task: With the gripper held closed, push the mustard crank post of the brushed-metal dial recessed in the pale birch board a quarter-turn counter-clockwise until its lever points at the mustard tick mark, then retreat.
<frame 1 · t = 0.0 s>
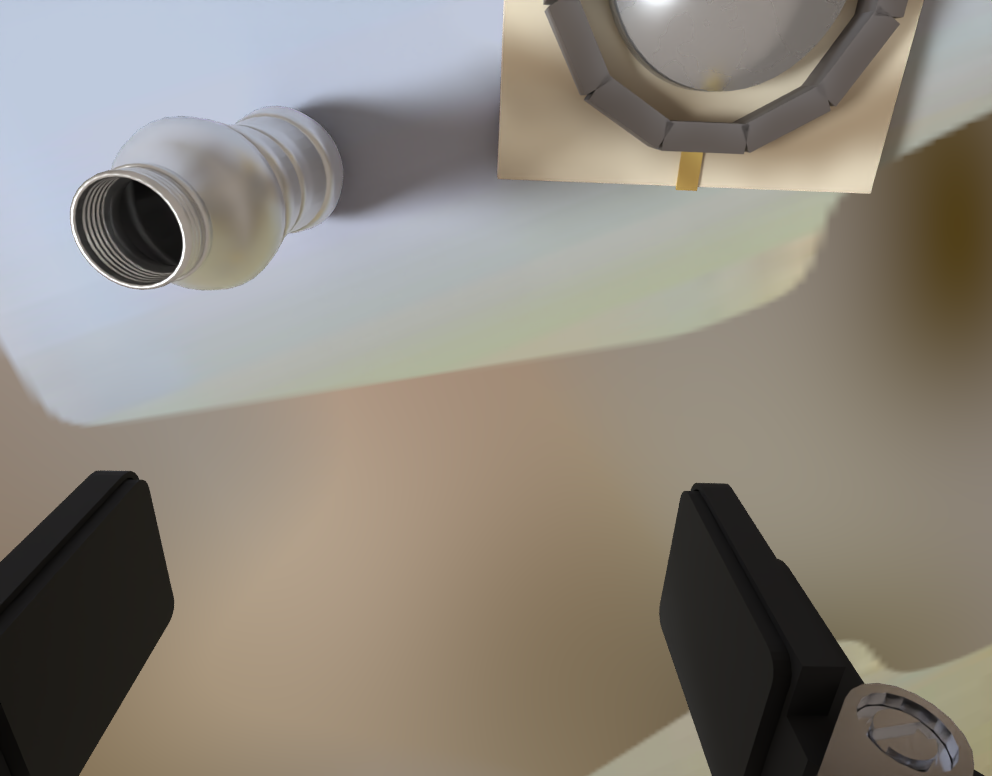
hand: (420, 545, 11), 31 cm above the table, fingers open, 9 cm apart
plastic bottle: (297, 166, 38), on the table
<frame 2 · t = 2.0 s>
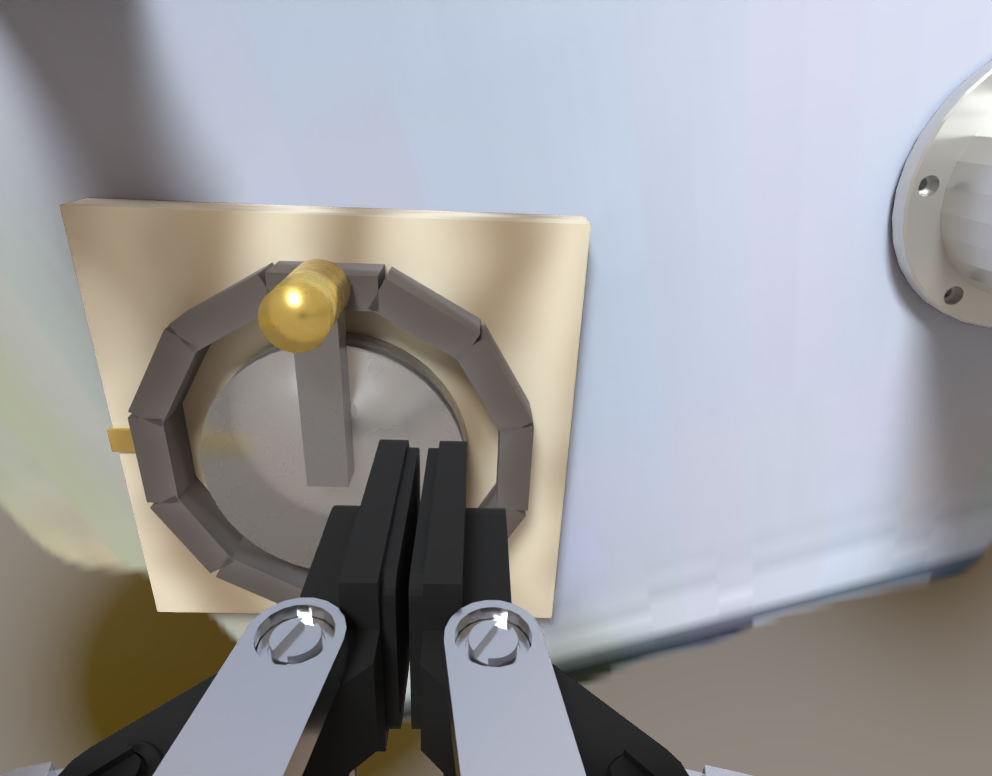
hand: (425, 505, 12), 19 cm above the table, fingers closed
dial: (326, 445, 27), point 5 cm above the table, hinge at 0.0°
dial plate: (352, 425, 33), on the table
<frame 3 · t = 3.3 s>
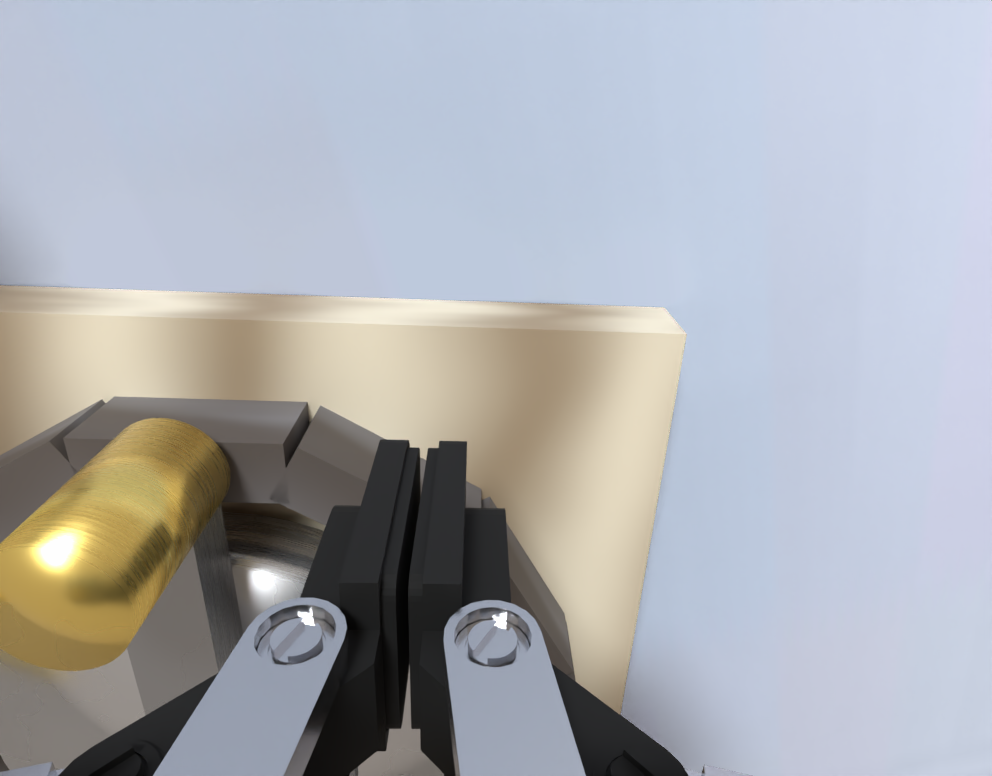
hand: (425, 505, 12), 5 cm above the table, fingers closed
dial: (201, 732, 15), point 5 cm above the table, hinge at 0.0°
dial plate: (276, 622, 21), on the table
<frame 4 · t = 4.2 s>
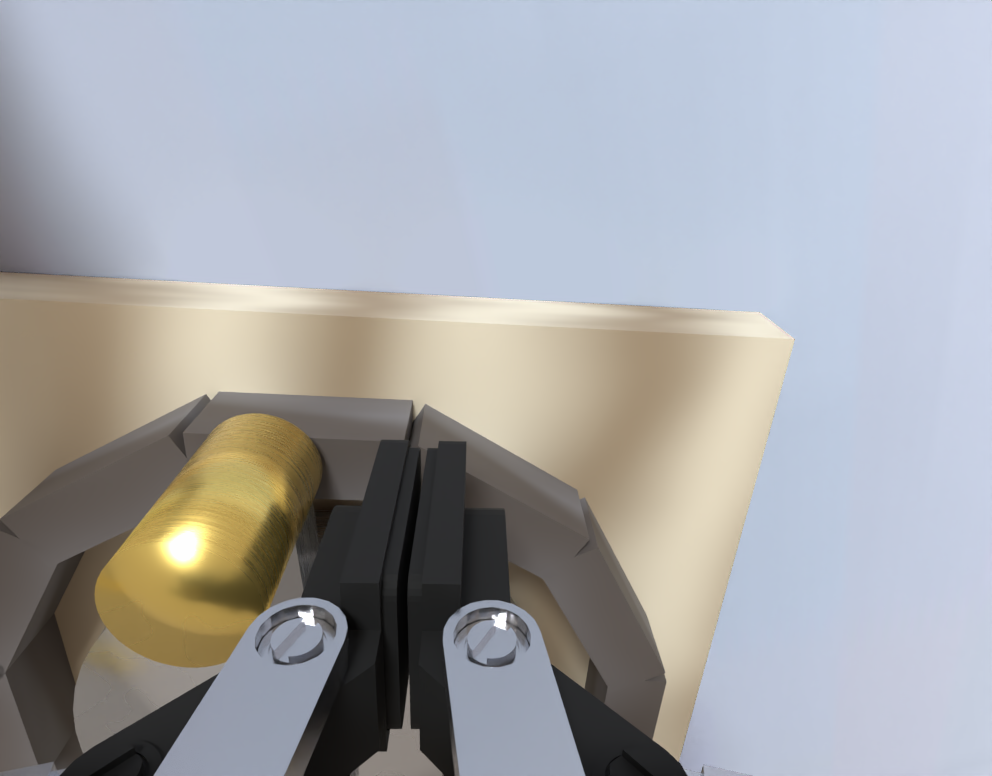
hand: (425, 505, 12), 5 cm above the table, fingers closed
dial: (295, 731, 15), point 5 cm above the table, hinge at 4.0°, touching gripper
dial plate: (346, 621, 20), on the table
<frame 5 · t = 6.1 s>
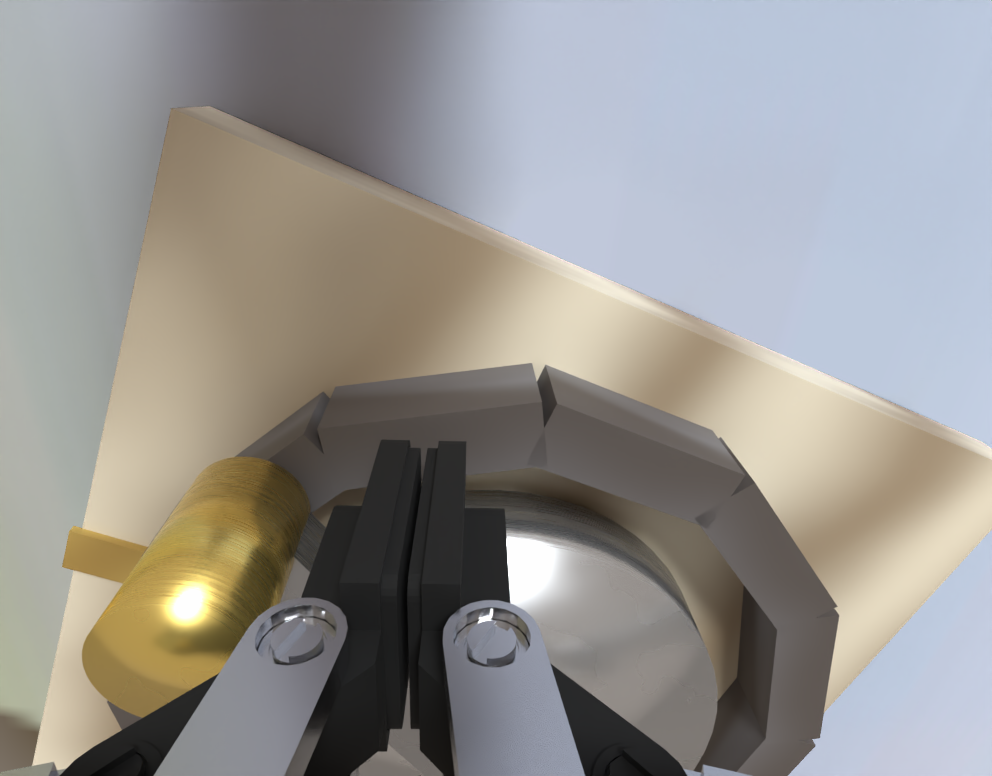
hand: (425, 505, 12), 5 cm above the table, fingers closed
dial: (439, 727, 15), point 5 cm above the table, hinge at 57.3°, touching gripper
dial plate: (479, 607, 20), on the table
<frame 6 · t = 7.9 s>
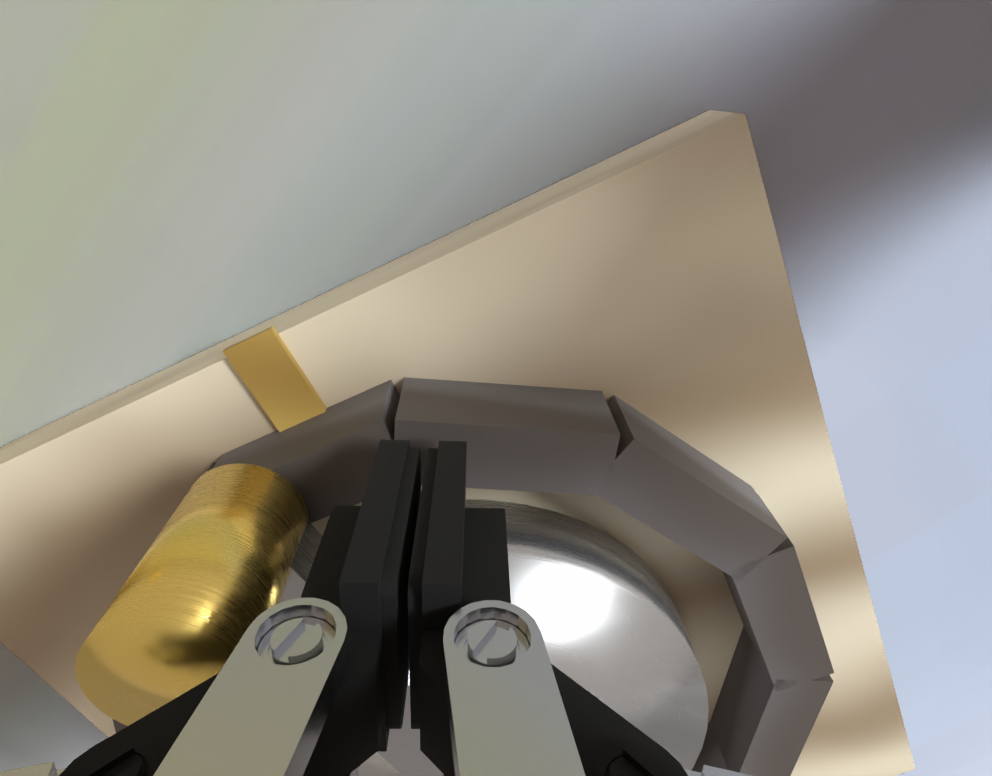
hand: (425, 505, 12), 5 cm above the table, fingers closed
dial: (430, 737, 15), point 5 cm above the table, hinge at 97.1°, touching gripper
dial plate: (473, 613, 20), on the table
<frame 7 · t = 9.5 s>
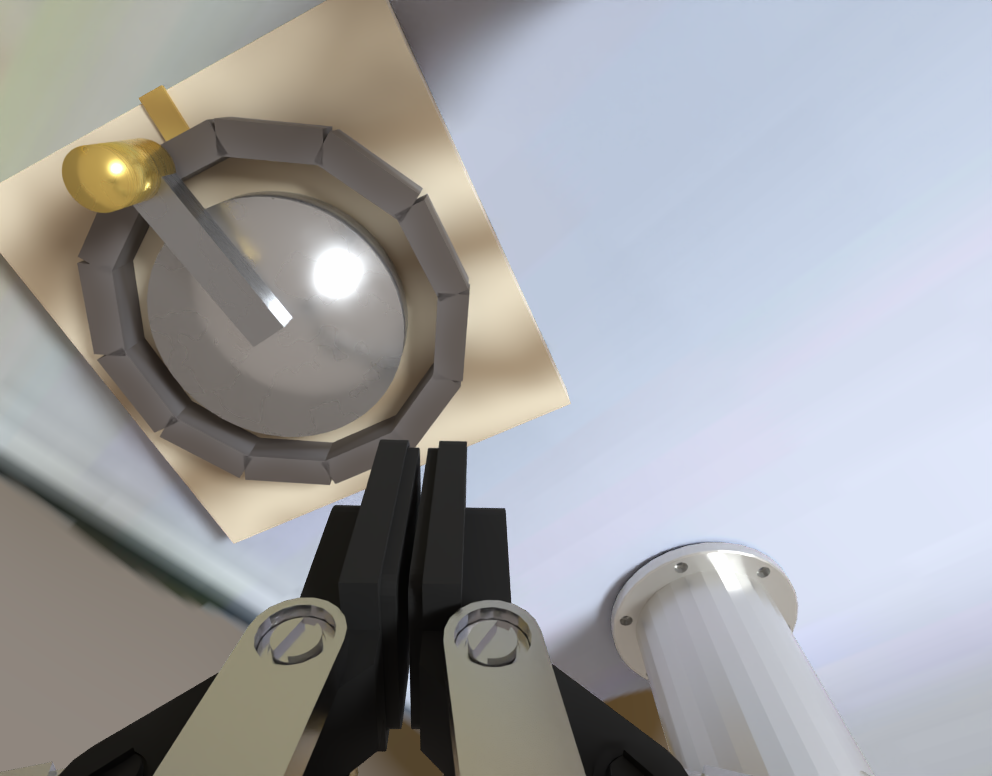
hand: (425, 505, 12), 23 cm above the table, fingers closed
dial: (244, 301, 29), point 5 cm above the table, hinge at 97.2°
dial plate: (300, 300, 34), on the table
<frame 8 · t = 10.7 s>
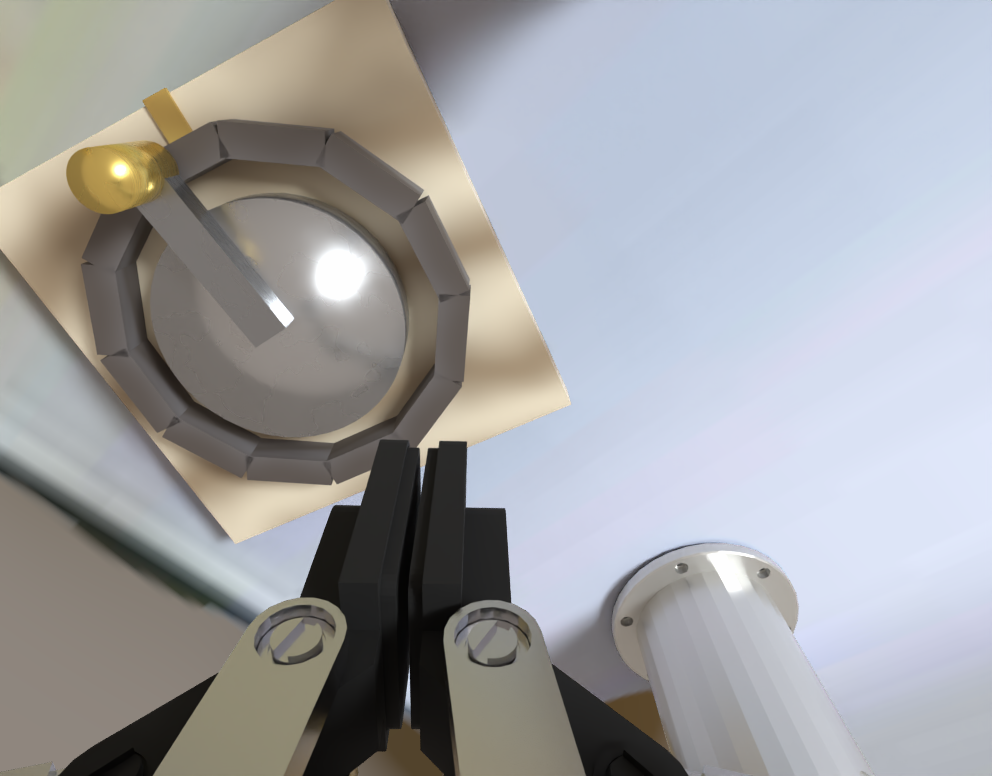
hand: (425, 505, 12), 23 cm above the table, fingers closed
dial: (246, 302, 29), point 5 cm above the table, hinge at 97.2°
dial plate: (302, 301, 34), on the table
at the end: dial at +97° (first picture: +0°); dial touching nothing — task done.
